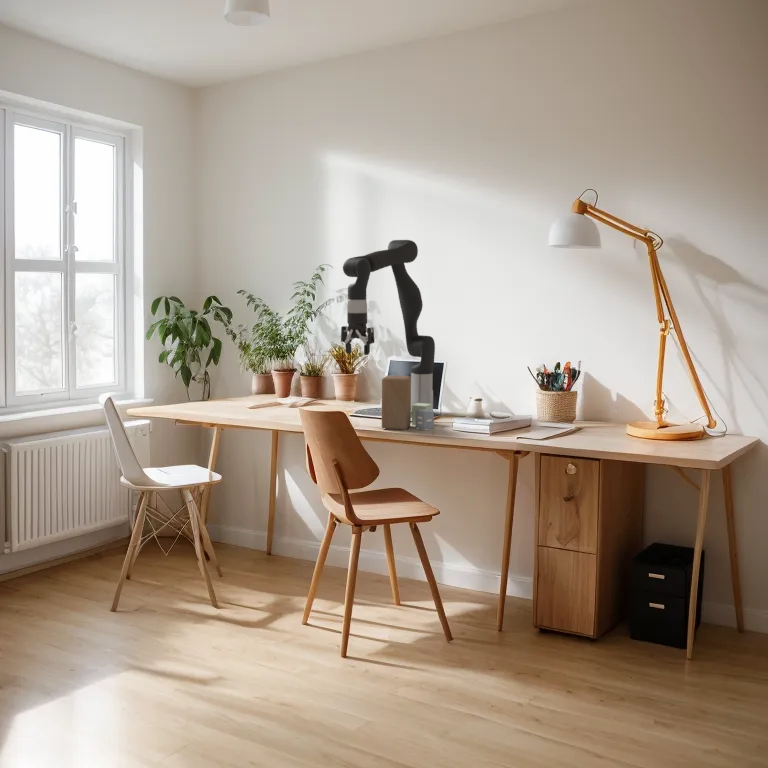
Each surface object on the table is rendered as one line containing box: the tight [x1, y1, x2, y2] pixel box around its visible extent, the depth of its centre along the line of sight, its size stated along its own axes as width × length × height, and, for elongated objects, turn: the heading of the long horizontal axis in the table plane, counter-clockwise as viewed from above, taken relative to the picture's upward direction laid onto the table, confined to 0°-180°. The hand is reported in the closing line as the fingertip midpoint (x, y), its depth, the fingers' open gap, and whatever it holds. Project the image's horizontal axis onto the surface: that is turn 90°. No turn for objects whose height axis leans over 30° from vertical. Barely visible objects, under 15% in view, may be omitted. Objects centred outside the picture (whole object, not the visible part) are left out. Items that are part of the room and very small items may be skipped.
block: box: [381, 374, 412, 431], centre depth 330 cm, size 10×10×20 cm
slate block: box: [415, 409, 435, 431], centre depth 329 cm, size 5×5×7 cm
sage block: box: [411, 403, 432, 426], centre depth 338 cm, size 6×6×8 cm
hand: (357, 354), depth 324 cm, fingers open, 8 cm apart
